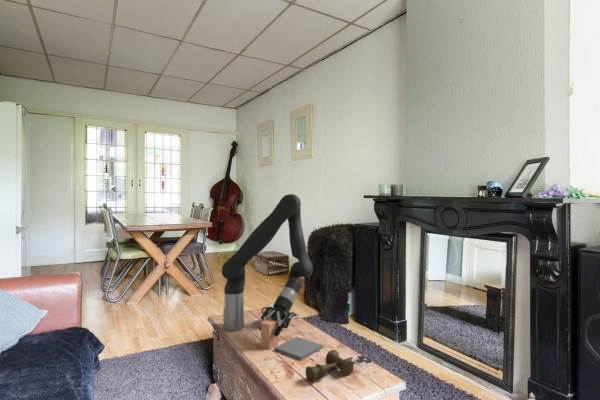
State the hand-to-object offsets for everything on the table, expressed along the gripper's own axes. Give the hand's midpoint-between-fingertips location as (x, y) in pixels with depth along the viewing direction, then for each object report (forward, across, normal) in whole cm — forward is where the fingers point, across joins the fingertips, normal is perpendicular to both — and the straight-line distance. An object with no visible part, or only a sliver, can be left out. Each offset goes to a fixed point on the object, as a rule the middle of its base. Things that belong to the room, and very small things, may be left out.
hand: (267, 333), depth 142 cm
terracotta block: (+3, 0, +5) cm, 6 cm away
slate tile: (0, +12, +8) cm, 14 cm away
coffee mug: (-10, -15, +18) cm, 26 cm away
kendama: (+6, +33, +3) cm, 34 cm away
